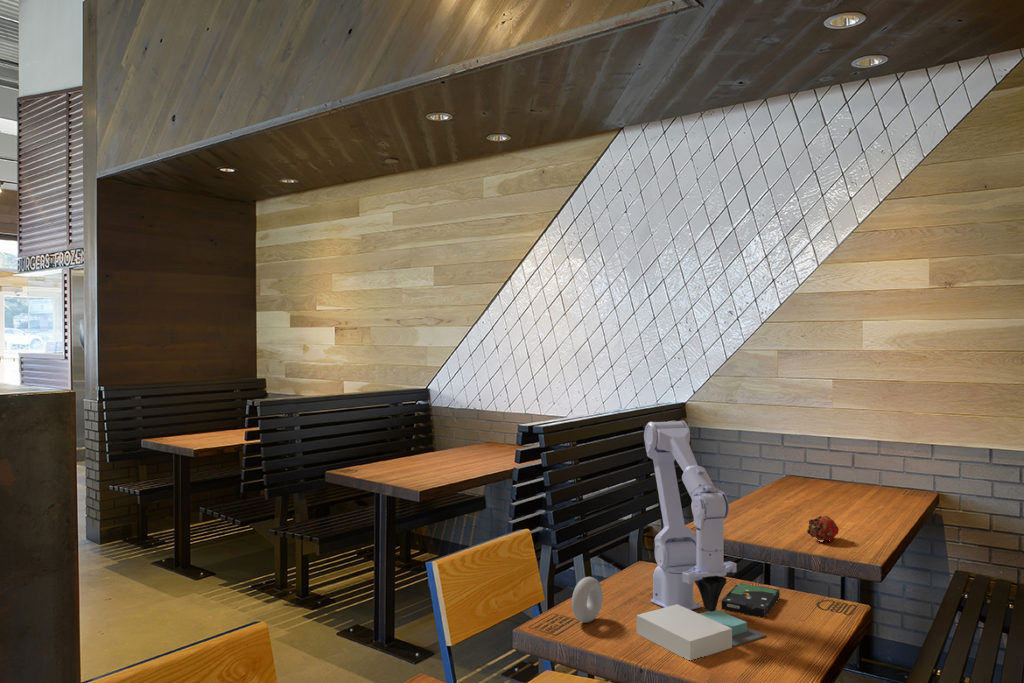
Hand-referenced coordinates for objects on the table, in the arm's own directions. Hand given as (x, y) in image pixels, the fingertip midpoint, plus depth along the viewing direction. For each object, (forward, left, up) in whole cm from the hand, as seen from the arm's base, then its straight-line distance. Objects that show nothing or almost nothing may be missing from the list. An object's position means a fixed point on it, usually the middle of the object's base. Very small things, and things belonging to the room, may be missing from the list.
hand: (710, 609), depth 161 cm
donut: (-19, -19, -5) cm, 27 cm away
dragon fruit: (-31, +82, -5) cm, 88 cm away
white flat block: (0, -8, -5) cm, 9 cm away
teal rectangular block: (0, +3, -3) cm, 4 cm away
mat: (0, +3, -5) cm, 6 cm away
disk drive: (-7, +21, -6) cm, 23 cm away
